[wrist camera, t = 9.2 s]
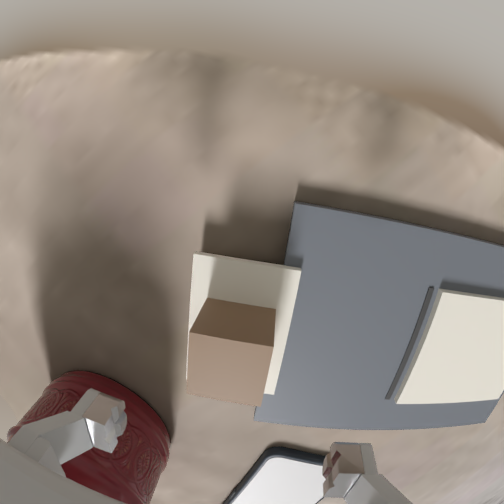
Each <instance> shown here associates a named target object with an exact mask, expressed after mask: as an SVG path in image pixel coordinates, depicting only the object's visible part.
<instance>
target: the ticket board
mask: <svg viewBox="0 0 504 504" xmlns="http://www.w3.org/2000/svg"><path fill="white" fill-rule="evenodd" d="M284 265H285V266H291V267H298V268H301V276H300V281H299V286H298V291H297V296H296V300H295V305H294V310H293V314H292V319H291V324H290V328H289V333H288V337H287V342H286V346H285V350H284V355H283V359H282V363H281V368H280V372H279V376H278V380H277V384H276V388H275V392H274V395H271V394H263V399H262V403H261V407H258V406H256V408H255V413H254V421H261V422H268V423H276V424H285V425H294V426H305V427H317V428H332V429H354V430H404V429H426V428H440V427H452V426H462V425H470V424H478V423H485V421H486V420H487V418H488V417H489V415H490V414H491V412H492V411H493V409H494V407H495V406H496V404H497V403H498V401H499V399H500V398H501V396H502V394H503V393H504V245H500V244H497V243H493V242H489V241H485V240H481V239H477V238H473V237H469V236H465V235H461V234H457V233H453V232H448V231H444V230H440V229H435V228H431V227H426V226H422V225H417V224H413V223H408V222H404V221H399V220H394V219H389V218H384V217H379V216H374V215H369V214H364V213H359V212H354V211H348V210H343V209H338V208H332V207H326V206H321V205H315V204H309V203H303V202H297V201H294V206H293V212H292V218H291V224H290V230H289V236H288V242H287V248H286V253H285V259H284Z"/></svg>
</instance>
